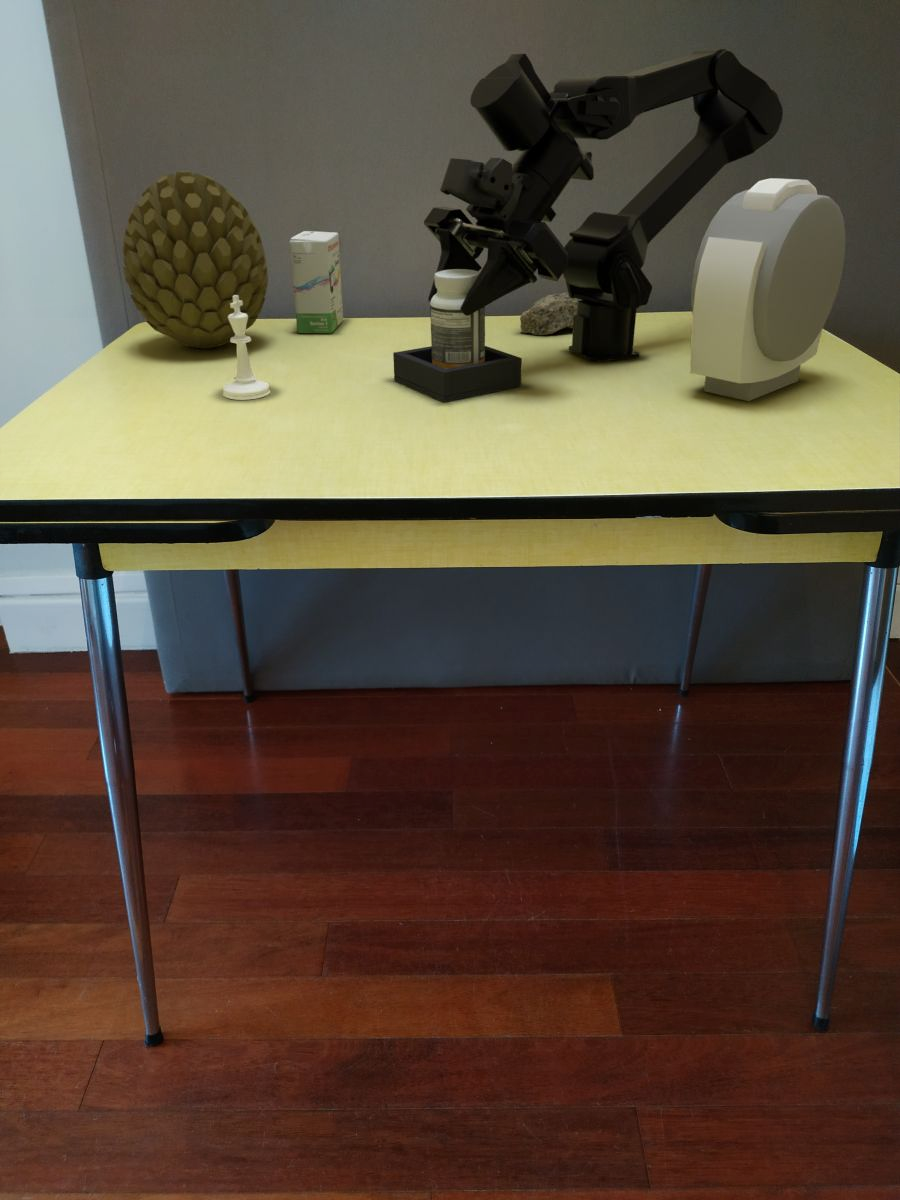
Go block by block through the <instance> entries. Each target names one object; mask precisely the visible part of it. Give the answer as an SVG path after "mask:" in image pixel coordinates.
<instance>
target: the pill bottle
mask: <svg viewBox="0 0 900 1200" xmlns="http://www.w3.org/2000/svg"><path fill="white" fill-rule="evenodd" d="M479 274H480V272H479V271H475V270H468V269H451V270H443V271H439V272H437V273H436V272H435V273H434V278H435V286H436V288H437V293H436V294H435V295H434V296H433V297H432V299H431V303H430V302H429V311H430V340H431V342H430V343H431V344H430V345H431V346H432V363H433V364H434V365H437V366H440V367H442V368H445V369H449V368H454V367H460V366H465V365H471V364H476V363H482V362H485V346H486V306H485V307H483V308H481V309H479V310H478V311H476V312H474V313H472V314H471V315H469V316H466V315H464V314H463V313H462V312H461V310H460V308H461V306H462V304H463V302H464V300H465V298H466V296H467V294H468V292H469V291H470V289H471V287H472V285H473V284H474V282H475V280H476V279H477V277H478V275H479Z"/></svg>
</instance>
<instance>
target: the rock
mask: <svg viewBox="0 0 900 1200" xmlns="http://www.w3.org/2000/svg"><path fill="white" fill-rule="evenodd" d="M578 301H581V300H580V299H576V298H575V299H572V298H570V297H569V294H568V292H565V291H564V292H561V293H555V294H549V295H545V296H543V297H541V298H540V299H537V300H535V301H533V303H532V305H531V306H530V307H529V308H528V310H526V311H523V312H522V313H521V315H520V317H519V320H520V327H519V328H520V331H521V332H522V333H530V334H532V335H533V336H546V335H552V334H554V333H556V332H558V331H560V330H562V329H566V328H568V329H573V319H574V315H575V314H577V308H578Z"/></svg>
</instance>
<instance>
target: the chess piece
mask: <svg viewBox="0 0 900 1200" xmlns="http://www.w3.org/2000/svg"><path fill="white" fill-rule="evenodd" d="M242 305H243V302H242V301H241V300H239V296H238V295H234V296H233V303H230V308H234V313H232V314H230V315H229V316H228V319H229V322H230V323H231V326H232V328H233V331H234V333H235V335H234V337H231V340H230V342H229V343H233V344H236V374H235V375H236V376H234V377H233V381H230V382H228V383H226V384H225V385H224V386H223V388H222V390H223V392H222V395H223V397H224V398H226V399H231V400H236V401H237V400H238V401H243V400H244V401H245V400H247V401H248V400H254V399H255V400H256V399H260V398H264V397H266V396H268V395H269V394H270V393H271V389H270V385H269V383H267V382H266V381H264V380H262V379H261V380H260V379H257V376H256V375H254V373H253V370H252V366H251V362H250V357H249V354H248V348H247V344H248V343H250V342H252V338H251V336H249V335H247V334H246V331H247V330H246V325H247V321H248V315H247V314H245V313H242V312H240V306H242Z"/></svg>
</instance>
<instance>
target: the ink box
mask: <svg viewBox="0 0 900 1200" xmlns="http://www.w3.org/2000/svg"><path fill="white" fill-rule="evenodd" d="M339 239H340V238H339V232H335V231H334V232H331V231H318V230H317V231H316V230H304V231H302V232H299V233H298V234H296V235H294V236H292V237H290V240H289V251H290V264H291V274H292V287H293V295H294V296H293V297H294V298H293V299H294V307H295V308H294V310H295V319H296V321H295V322H296V331H297V333H298V334H333V333H334V331H335V330H336V329H337V328H338V327H339V325H341V323H343V321H344V311H343V310H344V309H343V293H342V292H343V291H342V276H341V261H340V260H341V259H340V258H341V257H340V241H339Z"/></svg>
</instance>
